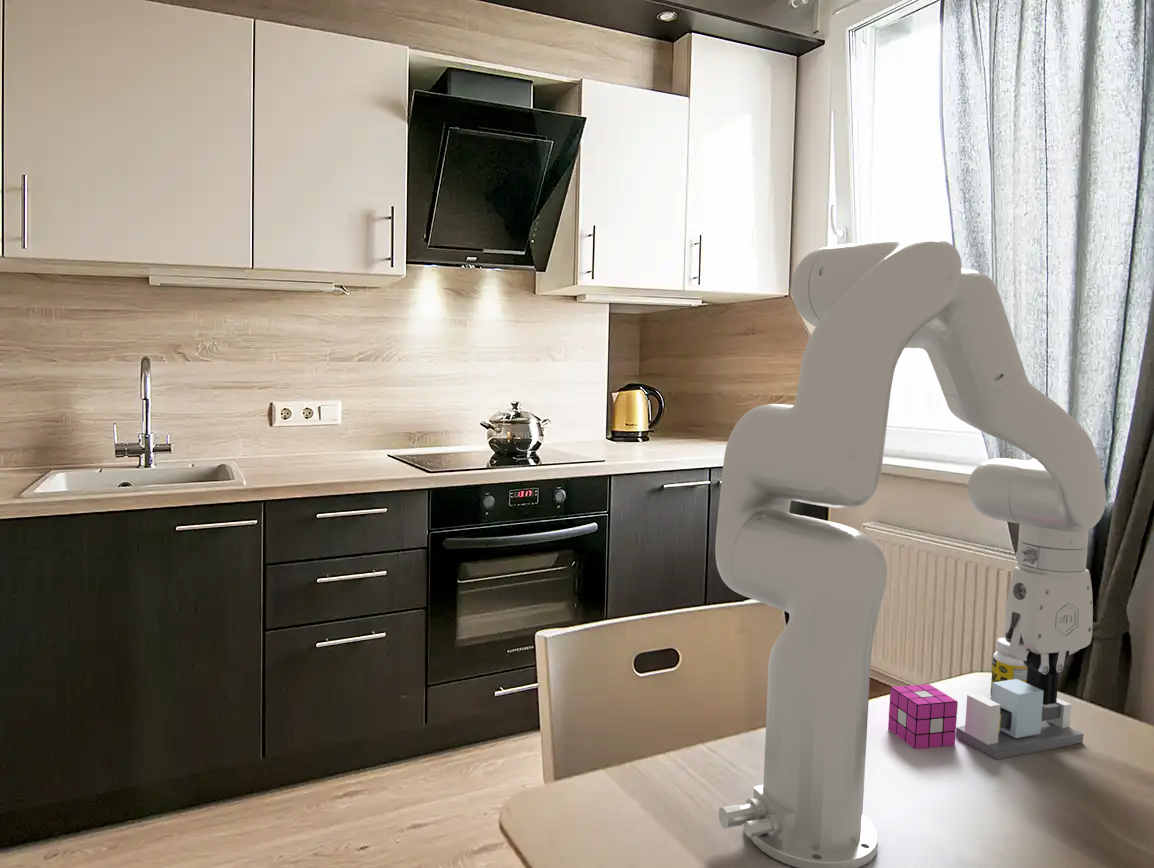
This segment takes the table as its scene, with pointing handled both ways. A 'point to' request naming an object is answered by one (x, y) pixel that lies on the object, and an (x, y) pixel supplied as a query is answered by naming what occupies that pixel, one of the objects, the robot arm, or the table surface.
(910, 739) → the puzzle toy
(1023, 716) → the sleeve
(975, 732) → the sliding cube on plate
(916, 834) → the table surface
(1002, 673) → the supplement bottle
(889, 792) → the table surface
